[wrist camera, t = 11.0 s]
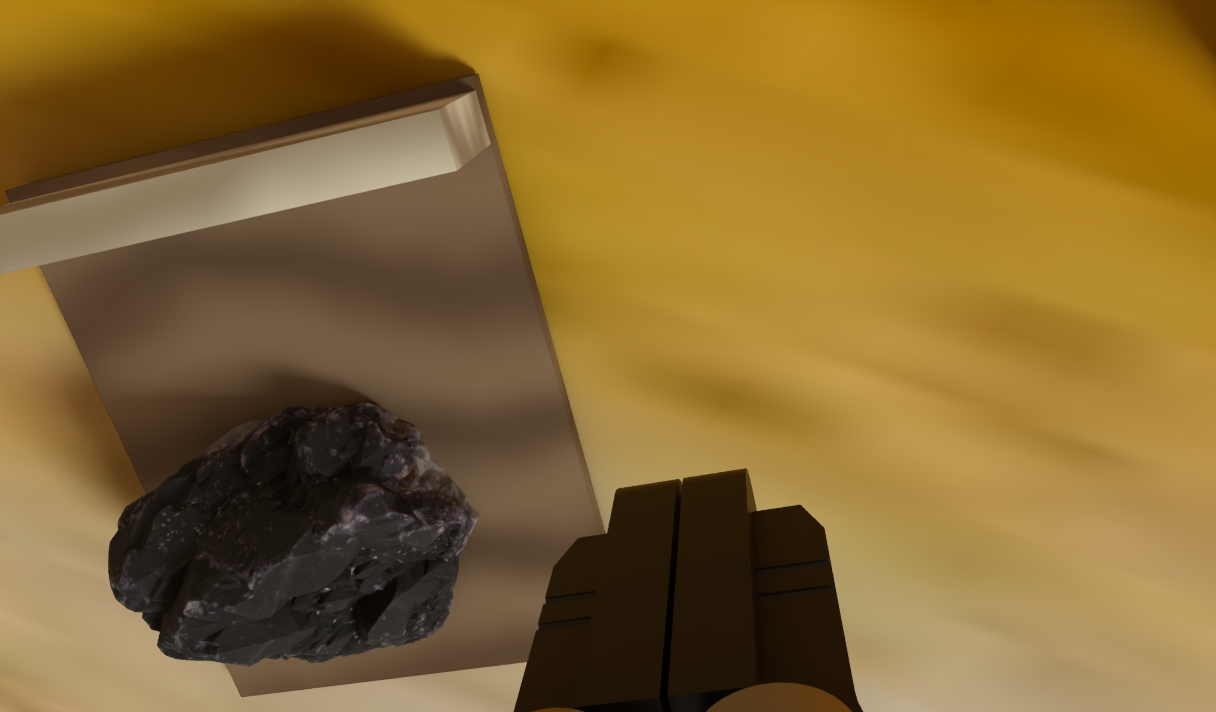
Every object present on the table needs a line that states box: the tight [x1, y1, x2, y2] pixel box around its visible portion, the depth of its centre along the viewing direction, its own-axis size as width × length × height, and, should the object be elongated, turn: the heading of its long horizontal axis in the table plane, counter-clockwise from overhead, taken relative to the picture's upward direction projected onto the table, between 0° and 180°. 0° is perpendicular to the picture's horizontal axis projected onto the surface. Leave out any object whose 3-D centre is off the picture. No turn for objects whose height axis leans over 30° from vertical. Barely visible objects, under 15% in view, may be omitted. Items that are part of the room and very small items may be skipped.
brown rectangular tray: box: [0, 74, 605, 697], centre depth 39 cm, size 26×20×6 cm
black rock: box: [108, 402, 479, 667], centre depth 40 cm, size 13×14×10 cm
